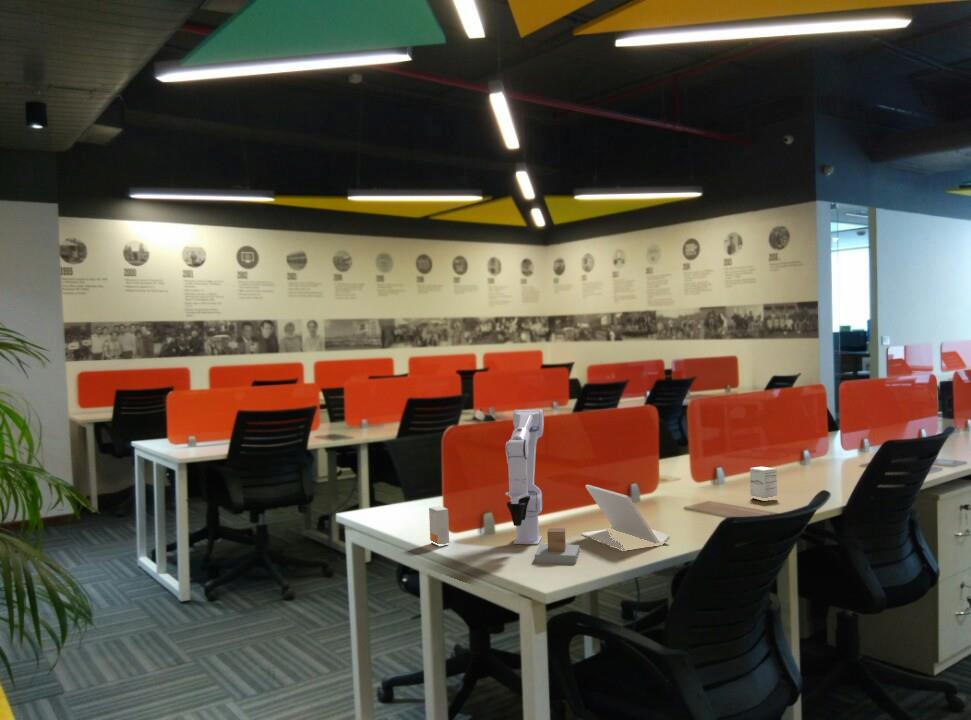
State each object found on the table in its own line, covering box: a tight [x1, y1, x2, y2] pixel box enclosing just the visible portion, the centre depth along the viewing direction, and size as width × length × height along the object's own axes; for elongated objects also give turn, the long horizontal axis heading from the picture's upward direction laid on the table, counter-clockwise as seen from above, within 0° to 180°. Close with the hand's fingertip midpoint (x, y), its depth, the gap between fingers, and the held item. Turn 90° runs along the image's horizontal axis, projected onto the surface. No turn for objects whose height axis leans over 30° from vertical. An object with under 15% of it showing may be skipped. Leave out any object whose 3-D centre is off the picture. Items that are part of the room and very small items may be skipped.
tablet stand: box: [581, 484, 671, 550], centre depth 248 cm, size 18×25×17 cm
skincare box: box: [428, 505, 450, 544], centre depth 249 cm, size 6×4×12 cm
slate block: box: [534, 543, 581, 565], centre depth 229 cm, size 12×12×3 cm
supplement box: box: [749, 466, 778, 498], centre depth 301 cm, size 7×7×13 cm
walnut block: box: [546, 527, 567, 552], centre depth 229 cm, size 5×5×6 cm
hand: (519, 522), depth 235 cm, fingers open, 7 cm apart
